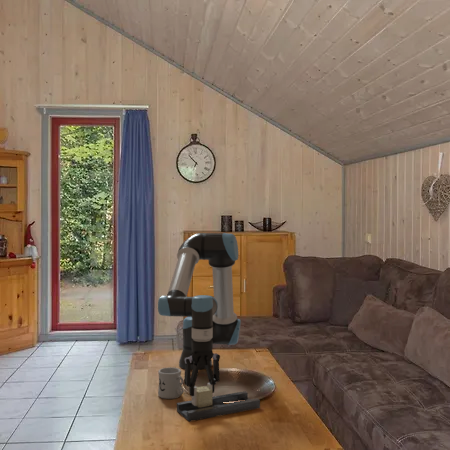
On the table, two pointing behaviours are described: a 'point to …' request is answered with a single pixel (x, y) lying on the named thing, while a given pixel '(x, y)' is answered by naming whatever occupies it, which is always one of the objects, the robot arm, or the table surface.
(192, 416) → the rail
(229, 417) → the table surface
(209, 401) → the brushed top tan cube
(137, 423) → the table surface
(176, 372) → the mug
